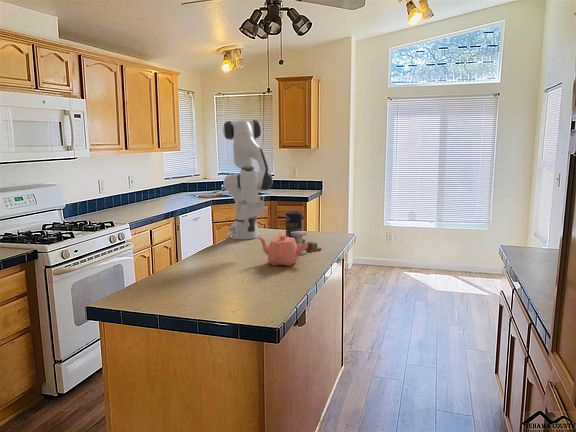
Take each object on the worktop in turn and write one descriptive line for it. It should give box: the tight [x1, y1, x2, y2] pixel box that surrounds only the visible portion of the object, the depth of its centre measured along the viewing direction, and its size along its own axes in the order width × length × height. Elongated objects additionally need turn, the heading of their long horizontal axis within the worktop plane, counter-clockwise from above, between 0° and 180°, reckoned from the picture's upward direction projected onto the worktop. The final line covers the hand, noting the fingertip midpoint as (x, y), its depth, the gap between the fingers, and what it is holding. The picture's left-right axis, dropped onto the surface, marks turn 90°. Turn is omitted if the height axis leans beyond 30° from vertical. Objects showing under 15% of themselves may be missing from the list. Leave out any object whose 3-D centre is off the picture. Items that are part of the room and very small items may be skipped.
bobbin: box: [290, 230, 308, 256], centre depth 235 cm, size 8×8×11 cm
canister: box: [284, 210, 303, 239], centre depth 264 cm, size 10×10×18 cm
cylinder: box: [247, 216, 255, 232], centre depth 231 cm, size 4×4×8 cm
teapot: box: [256, 234, 308, 267], centre depth 217 cm, size 18×18×14 cm
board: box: [302, 238, 323, 253], centre depth 247 cm, size 18×7×4 cm, turn 34°
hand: (250, 225), depth 231 cm, fingers closed on cylinder, 4 cm apart
